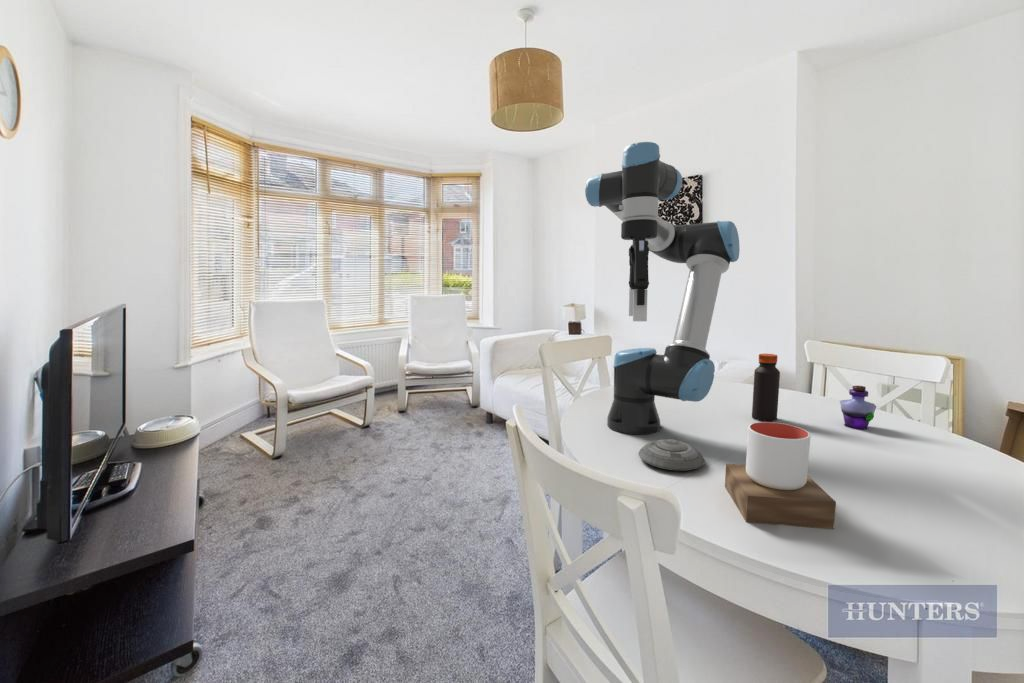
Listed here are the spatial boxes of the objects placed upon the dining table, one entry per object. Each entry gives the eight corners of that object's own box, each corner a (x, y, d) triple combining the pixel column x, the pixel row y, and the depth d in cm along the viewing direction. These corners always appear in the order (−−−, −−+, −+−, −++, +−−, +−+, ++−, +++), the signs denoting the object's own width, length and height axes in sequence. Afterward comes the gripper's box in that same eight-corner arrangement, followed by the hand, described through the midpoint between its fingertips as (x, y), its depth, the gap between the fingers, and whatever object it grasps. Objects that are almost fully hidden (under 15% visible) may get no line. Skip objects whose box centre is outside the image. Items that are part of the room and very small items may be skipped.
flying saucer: (699, 481, 97) (700, 457, 96) (630, 467, 104) (631, 444, 104) (709, 457, 109) (710, 436, 108) (647, 446, 117) (648, 426, 116)
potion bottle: (870, 433, 123) (874, 391, 121) (833, 426, 130) (836, 385, 128) (878, 426, 128) (882, 386, 127) (842, 420, 135) (845, 381, 133)
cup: (816, 495, 79) (820, 441, 77) (755, 490, 81) (758, 437, 79) (793, 471, 88) (796, 423, 87) (738, 468, 90) (741, 420, 89)
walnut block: (724, 486, 93) (726, 463, 93) (798, 491, 91) (800, 468, 90) (746, 521, 80) (747, 495, 79) (833, 529, 77) (836, 501, 76)
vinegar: (781, 422, 134) (786, 356, 131) (758, 422, 134) (762, 356, 131) (769, 415, 141) (773, 352, 138) (747, 415, 141) (751, 353, 138)
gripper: (619, 227, 109) (617, 314, 112) (624, 212, 85) (622, 323, 87) (651, 226, 107) (648, 314, 110) (665, 210, 83) (662, 323, 86)
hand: (637, 318), depth 99 cm, fingers open, 13 cm apart
